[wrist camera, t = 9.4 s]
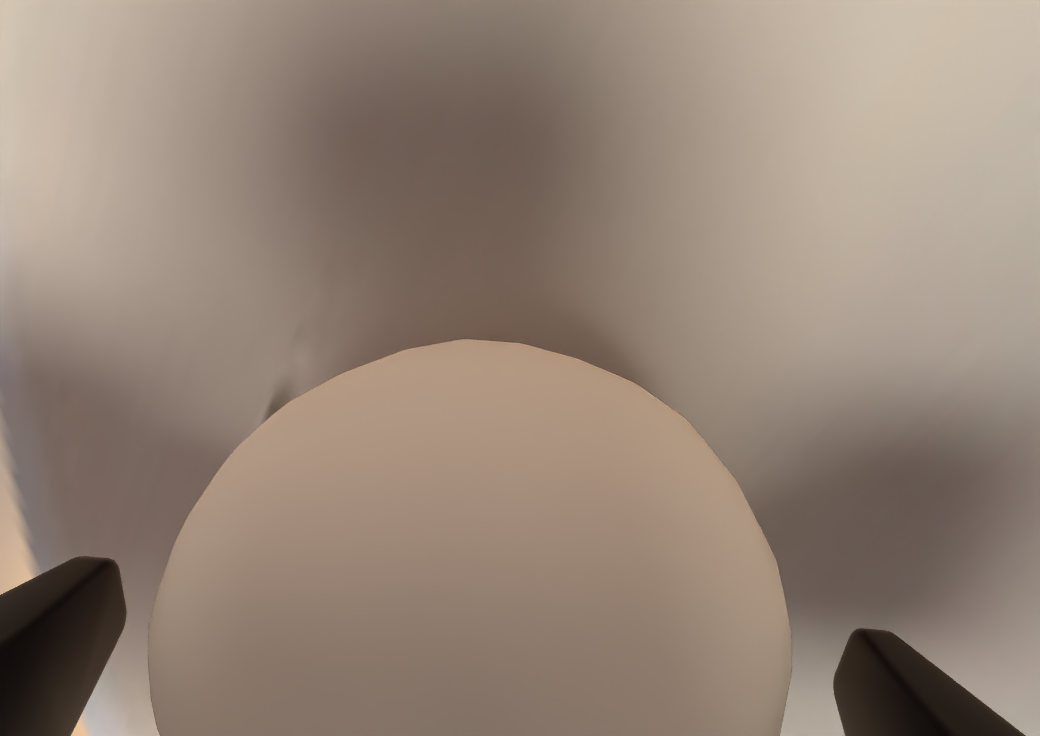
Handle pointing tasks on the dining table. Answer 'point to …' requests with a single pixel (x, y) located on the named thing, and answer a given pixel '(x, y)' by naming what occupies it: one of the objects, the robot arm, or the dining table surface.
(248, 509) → the plain white apple
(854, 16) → the dining table surface
